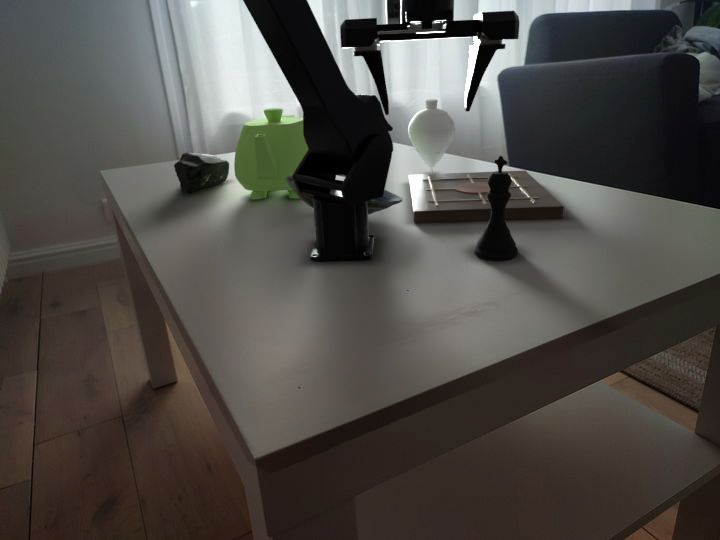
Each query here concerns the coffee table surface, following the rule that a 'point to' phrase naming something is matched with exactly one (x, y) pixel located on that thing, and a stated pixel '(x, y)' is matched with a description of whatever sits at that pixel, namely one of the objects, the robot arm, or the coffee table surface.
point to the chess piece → (497, 219)
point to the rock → (200, 171)
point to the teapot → (269, 153)
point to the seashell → (373, 205)
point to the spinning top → (431, 133)
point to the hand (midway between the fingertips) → (426, 112)
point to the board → (477, 198)
